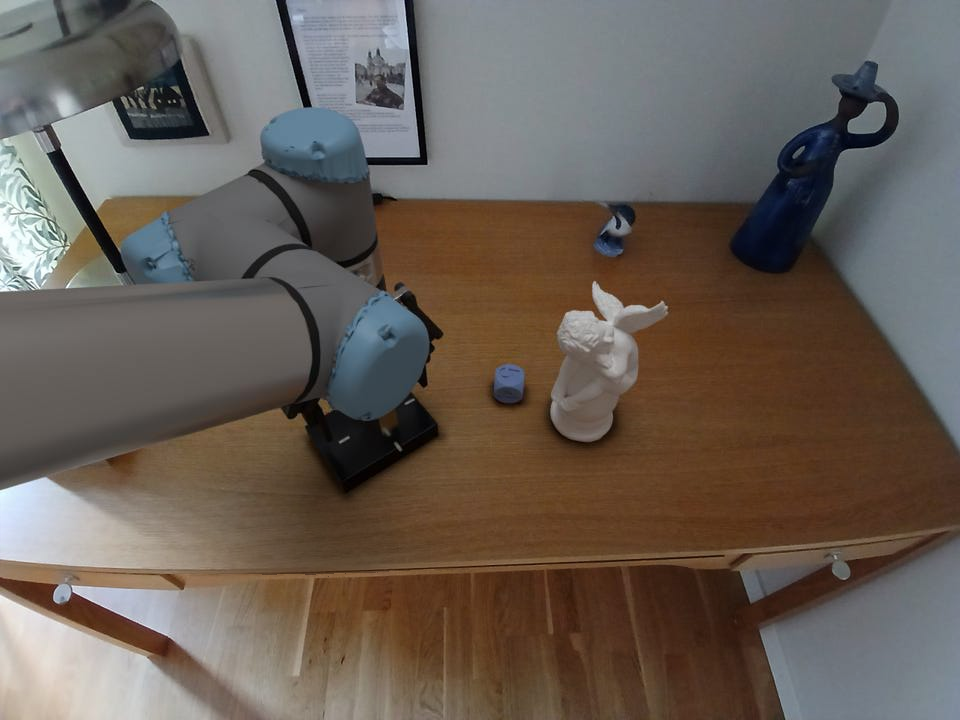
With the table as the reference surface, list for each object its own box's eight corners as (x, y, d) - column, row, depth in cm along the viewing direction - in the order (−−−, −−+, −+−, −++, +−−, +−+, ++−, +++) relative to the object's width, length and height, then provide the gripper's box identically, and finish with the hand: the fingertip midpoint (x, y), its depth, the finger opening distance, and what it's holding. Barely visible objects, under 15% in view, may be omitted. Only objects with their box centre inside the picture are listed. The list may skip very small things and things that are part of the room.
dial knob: (356, 407, 73) (346, 371, 68) (371, 398, 74) (363, 362, 68) (384, 444, 70) (376, 409, 64) (400, 434, 71) (393, 398, 65)
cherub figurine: (543, 443, 74) (565, 331, 57) (536, 370, 82) (554, 252, 65) (634, 443, 74) (683, 331, 57) (618, 370, 82) (657, 253, 65)
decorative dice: (521, 404, 78) (523, 387, 75) (493, 402, 78) (494, 385, 75) (523, 382, 80) (525, 364, 77) (495, 379, 81) (496, 362, 77)
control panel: (348, 497, 69) (343, 485, 66) (307, 435, 74) (301, 422, 72) (441, 438, 74) (440, 425, 72) (396, 385, 80) (394, 371, 77)
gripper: (233, 363, 46) (295, 482, 63) (472, 249, 56) (471, 377, 73) (201, 311, 50) (267, 436, 67) (430, 213, 60) (439, 343, 76)
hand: (374, 406), depth 70 cm, fingers open, 13 cm apart
